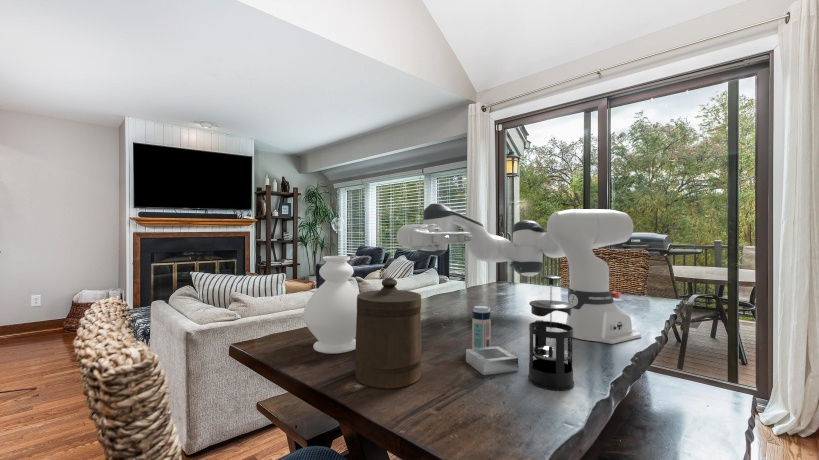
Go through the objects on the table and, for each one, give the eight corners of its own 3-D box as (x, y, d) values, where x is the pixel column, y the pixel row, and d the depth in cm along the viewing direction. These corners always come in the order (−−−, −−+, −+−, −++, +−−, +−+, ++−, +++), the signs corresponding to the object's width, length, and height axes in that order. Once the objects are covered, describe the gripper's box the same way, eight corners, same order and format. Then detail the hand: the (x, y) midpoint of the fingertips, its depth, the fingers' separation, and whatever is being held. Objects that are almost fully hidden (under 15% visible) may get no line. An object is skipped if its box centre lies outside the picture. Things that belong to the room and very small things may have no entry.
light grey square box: (497, 357, 95) (497, 346, 95) (518, 370, 86) (518, 357, 86) (465, 361, 92) (466, 349, 92) (483, 375, 84) (483, 362, 84)
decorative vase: (377, 351, 100) (377, 258, 100) (310, 361, 92) (310, 260, 92) (357, 333, 116) (357, 253, 116) (298, 341, 108) (298, 255, 108)
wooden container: (425, 365, 90) (425, 274, 90) (415, 392, 75) (415, 283, 75) (366, 361, 92) (366, 273, 92) (345, 386, 78) (345, 281, 78)
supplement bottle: (489, 348, 102) (489, 305, 102) (491, 354, 97) (491, 309, 97) (471, 348, 102) (471, 304, 102) (472, 354, 98) (473, 308, 98)
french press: (584, 391, 76) (585, 279, 75) (539, 393, 75) (540, 279, 75) (557, 369, 87) (558, 272, 87) (518, 370, 87) (519, 272, 86)
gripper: (453, 246, 127) (483, 248, 116) (404, 248, 115) (432, 250, 104) (453, 227, 127) (483, 228, 116) (404, 227, 115) (432, 228, 104)
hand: (459, 238), depth 110 cm, fingers open, 8 cm apart
